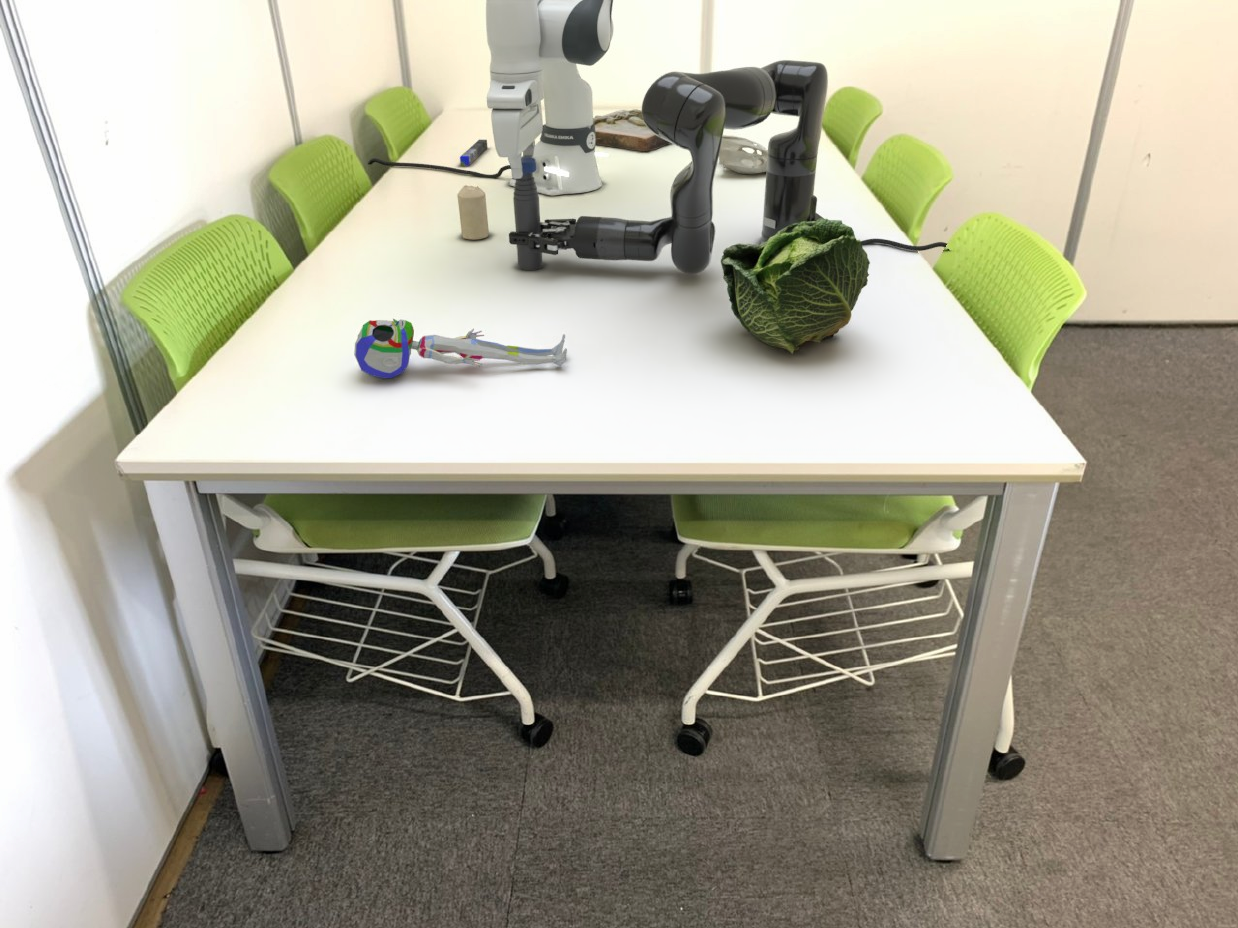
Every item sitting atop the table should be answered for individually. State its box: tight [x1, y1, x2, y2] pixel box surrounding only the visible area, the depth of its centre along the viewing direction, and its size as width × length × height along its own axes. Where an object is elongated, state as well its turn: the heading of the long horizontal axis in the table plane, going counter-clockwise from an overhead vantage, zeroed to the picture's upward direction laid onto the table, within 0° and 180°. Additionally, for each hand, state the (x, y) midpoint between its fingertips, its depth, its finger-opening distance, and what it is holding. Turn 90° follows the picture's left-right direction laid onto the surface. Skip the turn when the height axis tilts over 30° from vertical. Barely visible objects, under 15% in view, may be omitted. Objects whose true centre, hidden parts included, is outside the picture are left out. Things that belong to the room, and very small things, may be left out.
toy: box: [353, 318, 568, 379], centre depth 130 cm, size 10×8×30 cm
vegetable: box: [720, 217, 871, 354], centre depth 134 cm, size 20×19×20 cm
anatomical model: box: [718, 134, 768, 175], centre depth 221 cm, size 15×9×25 cm
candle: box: [456, 184, 490, 240], centre depth 181 cm, size 6×6×10 cm
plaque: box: [593, 108, 671, 152], centre depth 257 cm, size 30×7×30 cm
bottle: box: [512, 173, 543, 271], centre depth 163 cm, size 5×5×19 cm
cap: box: [521, 157, 536, 174], centre depth 159 cm, size 4×4×2 cm
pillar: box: [459, 139, 488, 167], centre depth 240 cm, size 2×2×20 cm
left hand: (523, 171), depth 159 cm, fingers open, 6 cm apart
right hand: (514, 233), depth 166 cm, fingers closed on bottle, 4 cm apart
